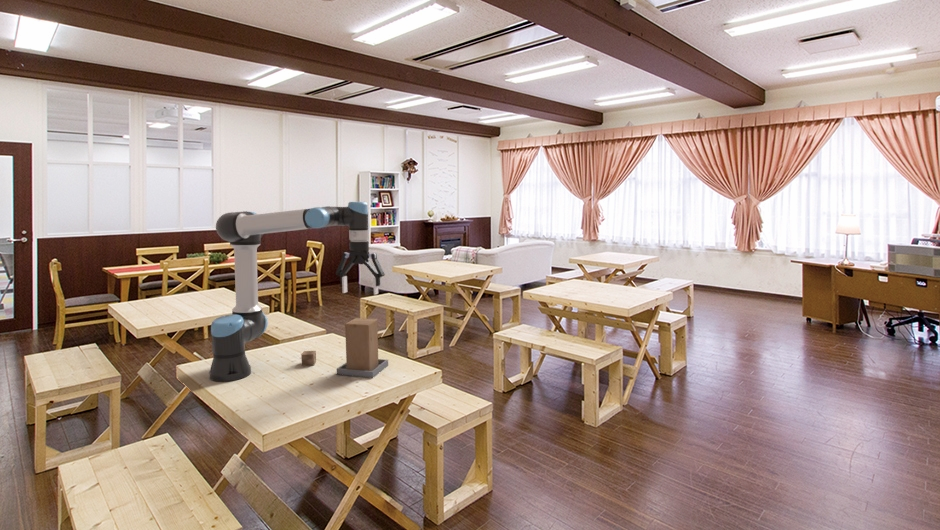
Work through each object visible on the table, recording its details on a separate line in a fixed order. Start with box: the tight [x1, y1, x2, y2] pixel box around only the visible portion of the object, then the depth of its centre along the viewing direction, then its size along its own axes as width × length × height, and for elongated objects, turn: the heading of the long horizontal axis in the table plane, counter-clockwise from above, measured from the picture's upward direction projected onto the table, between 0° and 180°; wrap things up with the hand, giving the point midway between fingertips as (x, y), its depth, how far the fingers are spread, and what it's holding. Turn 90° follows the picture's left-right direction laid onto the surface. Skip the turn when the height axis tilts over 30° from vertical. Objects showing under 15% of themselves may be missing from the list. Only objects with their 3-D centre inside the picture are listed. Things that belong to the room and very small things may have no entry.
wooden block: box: [344, 317, 379, 371], centre depth 211 cm, size 10×10×20 cm
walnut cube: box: [300, 350, 317, 367], centre depth 220 cm, size 5×5×5 cm
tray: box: [336, 358, 389, 379], centre depth 212 cm, size 16×16×2 cm
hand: (360, 293), depth 208 cm, fingers open, 13 cm apart
